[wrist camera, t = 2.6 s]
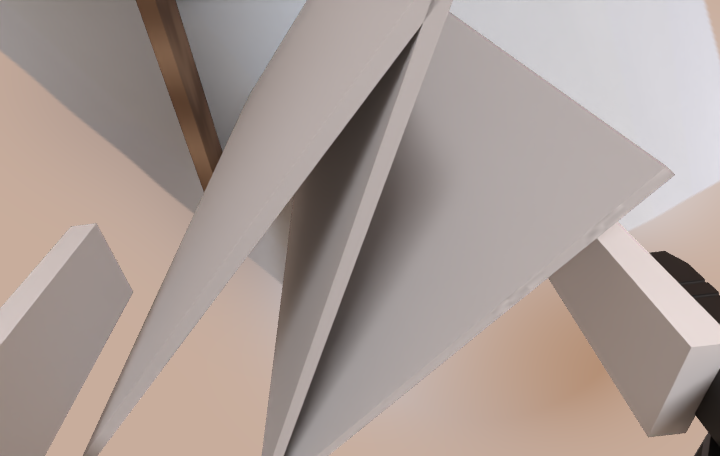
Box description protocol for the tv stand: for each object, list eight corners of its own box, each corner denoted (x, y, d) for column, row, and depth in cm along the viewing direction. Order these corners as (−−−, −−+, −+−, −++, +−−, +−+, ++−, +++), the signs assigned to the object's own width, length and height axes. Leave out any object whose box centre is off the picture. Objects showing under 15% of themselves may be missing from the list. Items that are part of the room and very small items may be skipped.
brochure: (304, 133, 38) (263, 507, 14) (248, 96, 36) (80, 461, 12) (410, -16, 32) (675, 174, 8) (349, -70, 30) (447, -47, 6)
